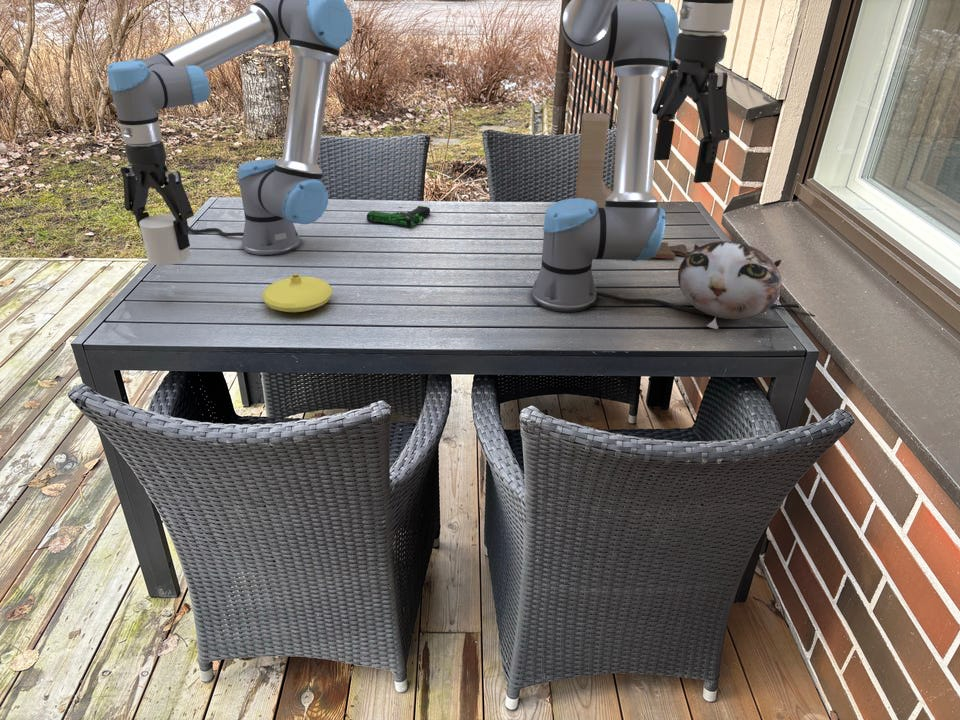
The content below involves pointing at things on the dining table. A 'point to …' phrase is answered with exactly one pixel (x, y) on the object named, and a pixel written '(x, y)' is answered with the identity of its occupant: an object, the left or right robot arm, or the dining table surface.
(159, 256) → the can
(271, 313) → the dining table surface
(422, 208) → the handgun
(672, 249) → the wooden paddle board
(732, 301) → the cat face balloon
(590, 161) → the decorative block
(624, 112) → the right robot arm
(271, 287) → the vase
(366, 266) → the dining table surface
